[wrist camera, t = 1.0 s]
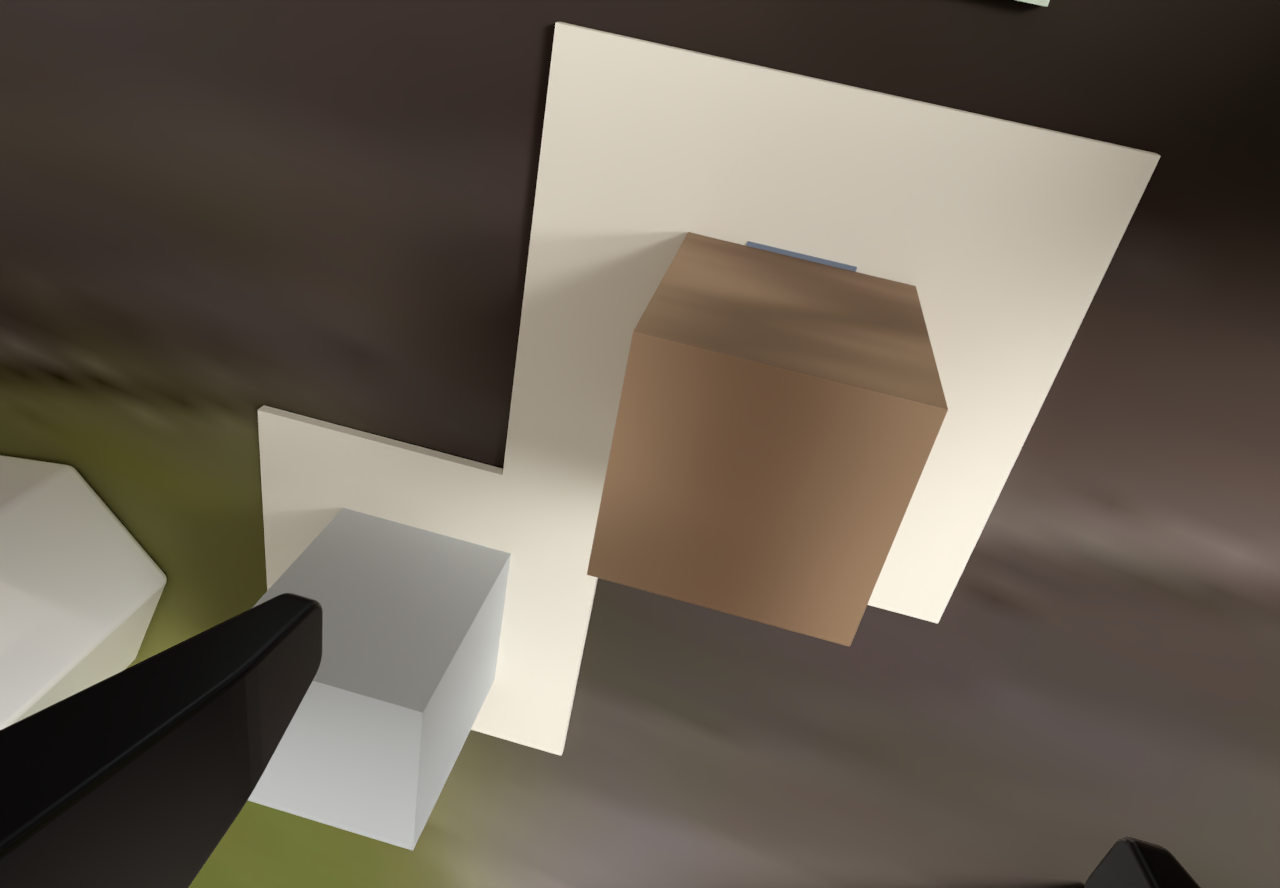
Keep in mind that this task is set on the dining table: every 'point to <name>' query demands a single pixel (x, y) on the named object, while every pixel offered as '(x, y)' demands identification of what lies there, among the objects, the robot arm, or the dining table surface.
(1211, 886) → the dining table surface
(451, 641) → the grey block
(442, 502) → the tile
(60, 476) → the jar
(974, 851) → the dining table surface
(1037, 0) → the sage pad
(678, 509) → the walnut block
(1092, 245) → the tile
